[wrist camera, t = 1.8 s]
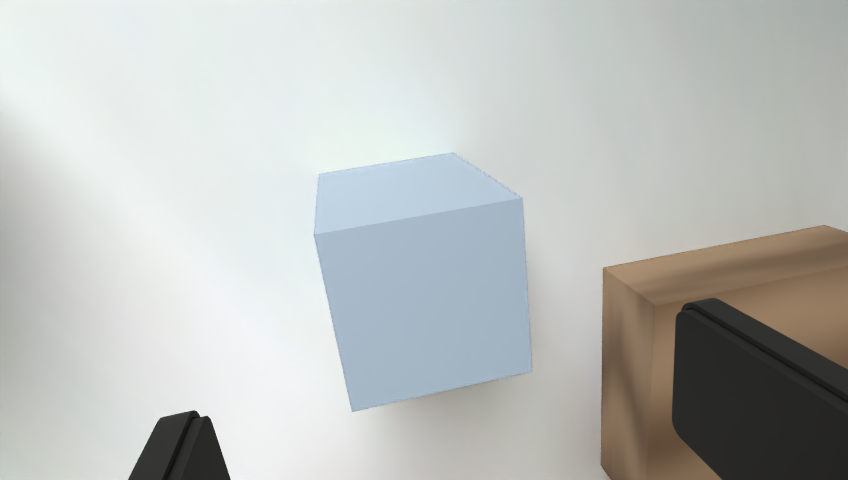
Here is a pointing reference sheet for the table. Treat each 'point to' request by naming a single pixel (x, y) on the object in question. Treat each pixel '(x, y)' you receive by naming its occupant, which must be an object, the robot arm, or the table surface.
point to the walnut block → (655, 332)
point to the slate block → (423, 277)
